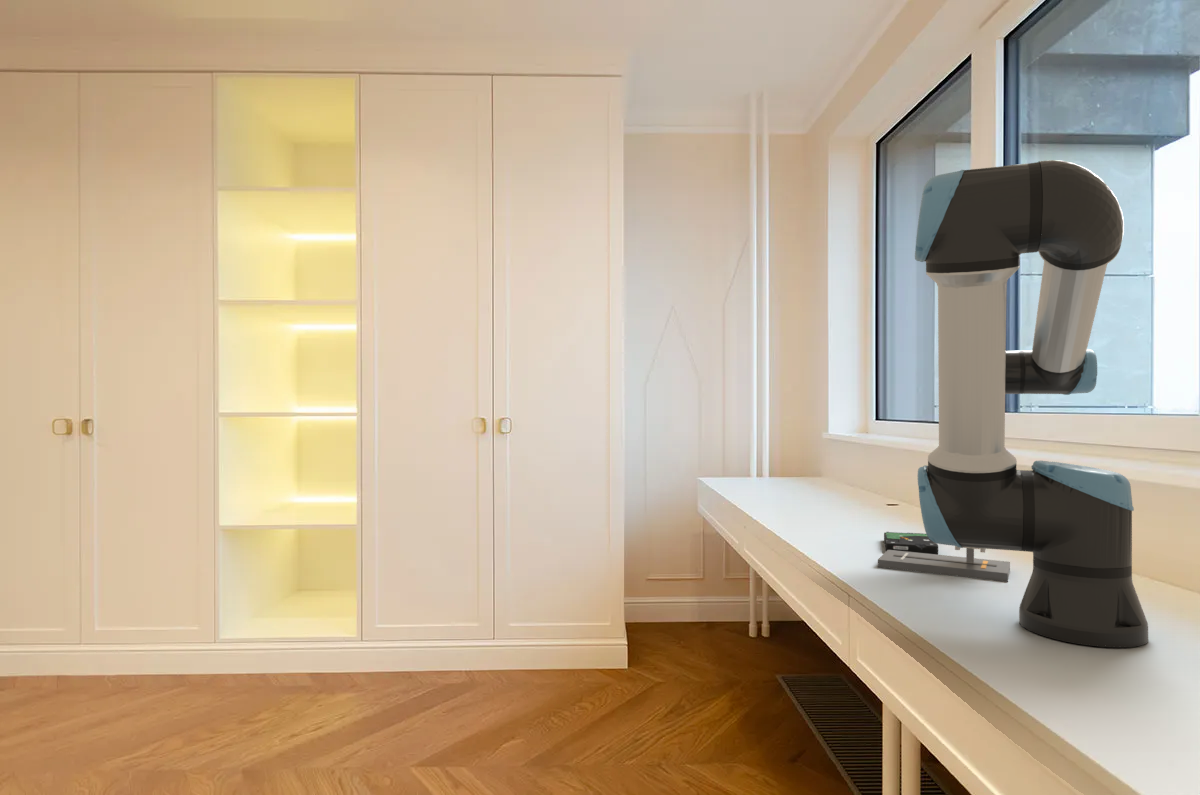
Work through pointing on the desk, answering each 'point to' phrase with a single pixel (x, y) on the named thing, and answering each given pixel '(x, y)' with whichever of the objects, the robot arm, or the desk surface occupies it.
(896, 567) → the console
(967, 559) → the fader
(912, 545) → the disk drive
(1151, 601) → the desk surface
